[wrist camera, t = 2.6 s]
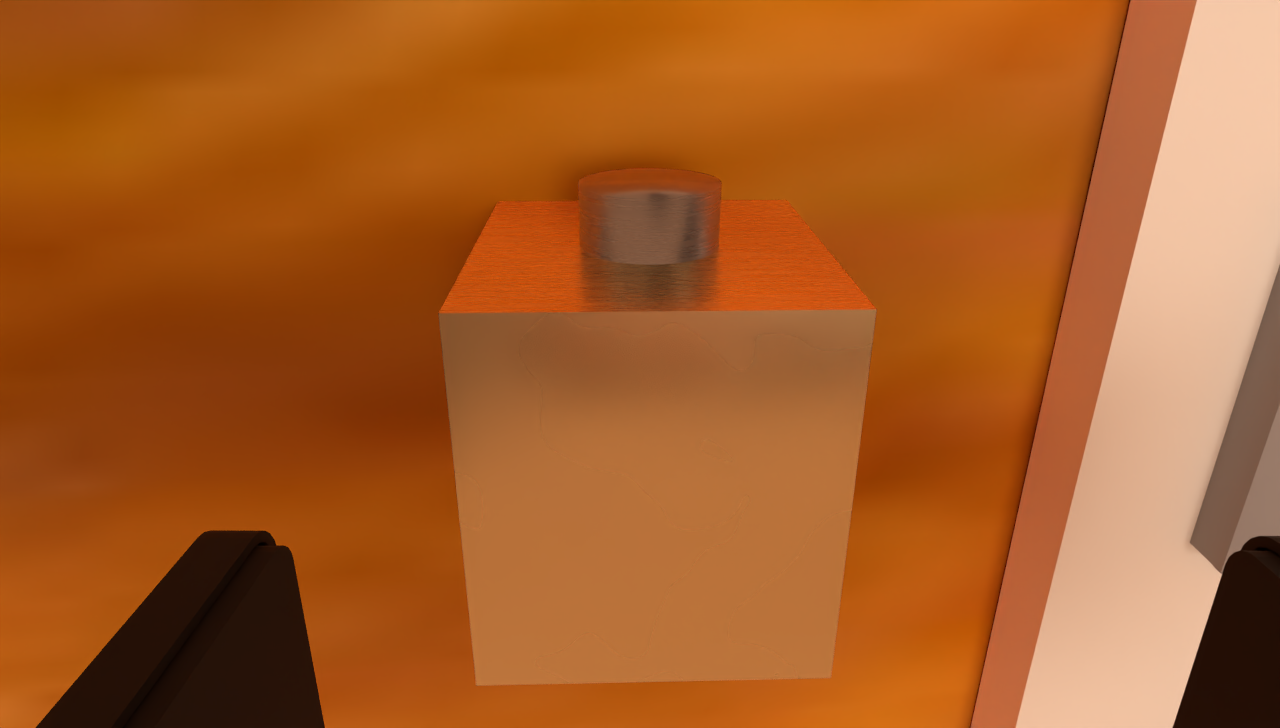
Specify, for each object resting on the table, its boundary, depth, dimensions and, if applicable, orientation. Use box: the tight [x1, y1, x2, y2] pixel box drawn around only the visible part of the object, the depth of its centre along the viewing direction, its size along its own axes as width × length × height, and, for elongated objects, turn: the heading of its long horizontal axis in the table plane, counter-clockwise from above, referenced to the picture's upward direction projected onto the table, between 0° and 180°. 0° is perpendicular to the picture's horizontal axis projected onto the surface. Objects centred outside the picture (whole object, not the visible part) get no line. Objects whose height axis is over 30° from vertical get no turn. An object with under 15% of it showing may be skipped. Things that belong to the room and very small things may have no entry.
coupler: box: [438, 168, 877, 686], centre depth 12 cm, size 7×4×5 cm
